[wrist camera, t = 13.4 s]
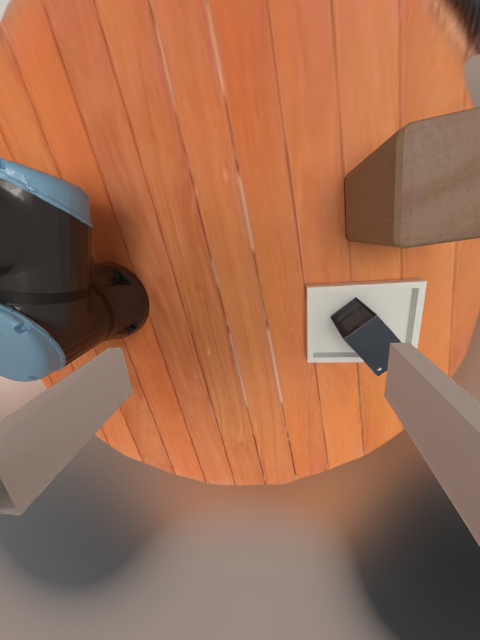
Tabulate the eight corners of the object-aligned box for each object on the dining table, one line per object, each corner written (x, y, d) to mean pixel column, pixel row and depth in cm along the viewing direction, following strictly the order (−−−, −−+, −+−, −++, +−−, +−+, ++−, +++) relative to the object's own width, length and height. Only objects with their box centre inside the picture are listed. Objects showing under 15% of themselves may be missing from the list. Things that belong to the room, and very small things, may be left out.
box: (384, 327, 44) (413, 355, 34) (356, 346, 46) (376, 378, 36) (356, 295, 43) (378, 314, 33) (328, 316, 45) (342, 340, 35)
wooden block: (412, 232, 40) (529, 232, 21) (345, 242, 42) (397, 250, 23) (416, 159, 37) (556, 85, 18) (343, 174, 38) (402, 120, 20)
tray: (306, 355, 49) (307, 362, 47) (305, 284, 45) (307, 287, 42) (407, 354, 46) (415, 361, 43) (417, 278, 42) (427, 281, 39)
